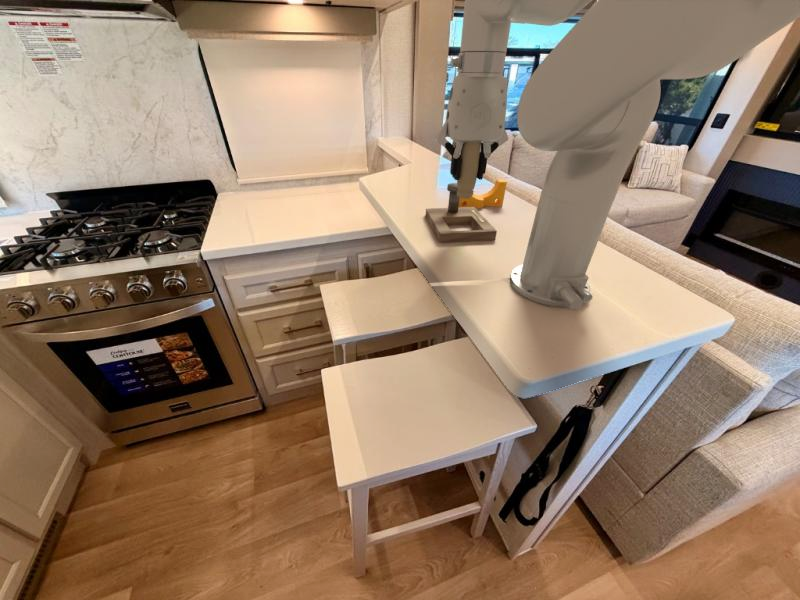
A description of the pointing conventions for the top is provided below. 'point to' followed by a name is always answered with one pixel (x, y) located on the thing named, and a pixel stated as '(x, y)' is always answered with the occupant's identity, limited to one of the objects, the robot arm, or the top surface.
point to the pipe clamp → (487, 197)
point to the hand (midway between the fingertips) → (467, 177)
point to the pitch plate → (459, 221)
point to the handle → (468, 169)
